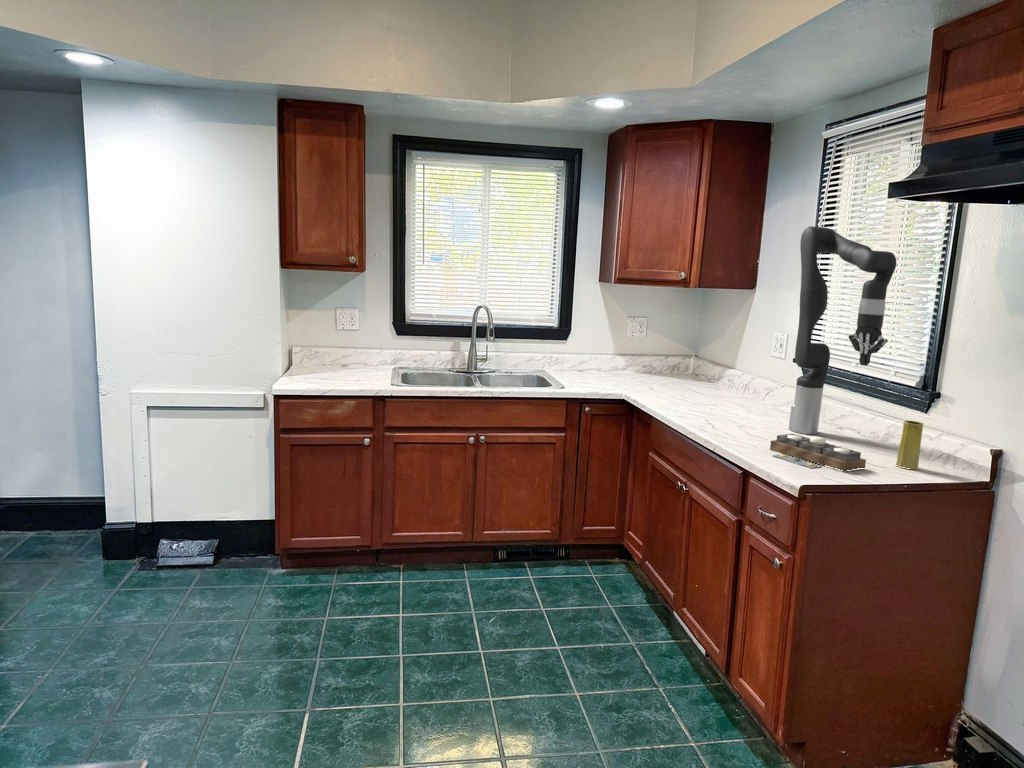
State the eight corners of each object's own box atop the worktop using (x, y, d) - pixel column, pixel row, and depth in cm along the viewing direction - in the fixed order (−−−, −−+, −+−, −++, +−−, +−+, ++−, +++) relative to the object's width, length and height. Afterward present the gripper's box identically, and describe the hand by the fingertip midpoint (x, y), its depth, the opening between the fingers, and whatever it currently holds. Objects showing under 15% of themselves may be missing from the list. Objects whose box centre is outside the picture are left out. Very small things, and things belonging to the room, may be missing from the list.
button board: (769, 449, 227) (771, 434, 227) (790, 447, 232) (791, 432, 232) (844, 472, 204) (846, 456, 204) (864, 469, 209) (867, 453, 209)
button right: (829, 454, 211) (830, 448, 211) (839, 453, 214) (839, 447, 213) (842, 458, 208) (843, 452, 207) (852, 457, 210) (852, 450, 210)
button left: (783, 441, 226) (784, 435, 226) (792, 440, 228) (793, 434, 228) (795, 444, 222) (795, 438, 222) (804, 443, 224) (804, 437, 224)
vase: (910, 464, 218) (917, 420, 215) (922, 470, 211) (929, 425, 209) (891, 464, 217) (898, 419, 215) (903, 469, 211) (910, 424, 209)
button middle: (806, 443, 218) (807, 436, 218) (815, 441, 221) (816, 435, 220) (818, 446, 215) (819, 440, 214) (827, 445, 217) (828, 439, 217)
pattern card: (772, 456, 219) (772, 454, 219) (783, 455, 221) (783, 453, 221) (810, 468, 207) (811, 466, 207) (821, 466, 209) (821, 465, 209)
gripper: (897, 314, 223) (889, 367, 226) (859, 311, 234) (852, 362, 237) (883, 314, 219) (875, 368, 222) (845, 311, 230) (839, 362, 233)
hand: (863, 365), depth 229 cm, fingers closed
